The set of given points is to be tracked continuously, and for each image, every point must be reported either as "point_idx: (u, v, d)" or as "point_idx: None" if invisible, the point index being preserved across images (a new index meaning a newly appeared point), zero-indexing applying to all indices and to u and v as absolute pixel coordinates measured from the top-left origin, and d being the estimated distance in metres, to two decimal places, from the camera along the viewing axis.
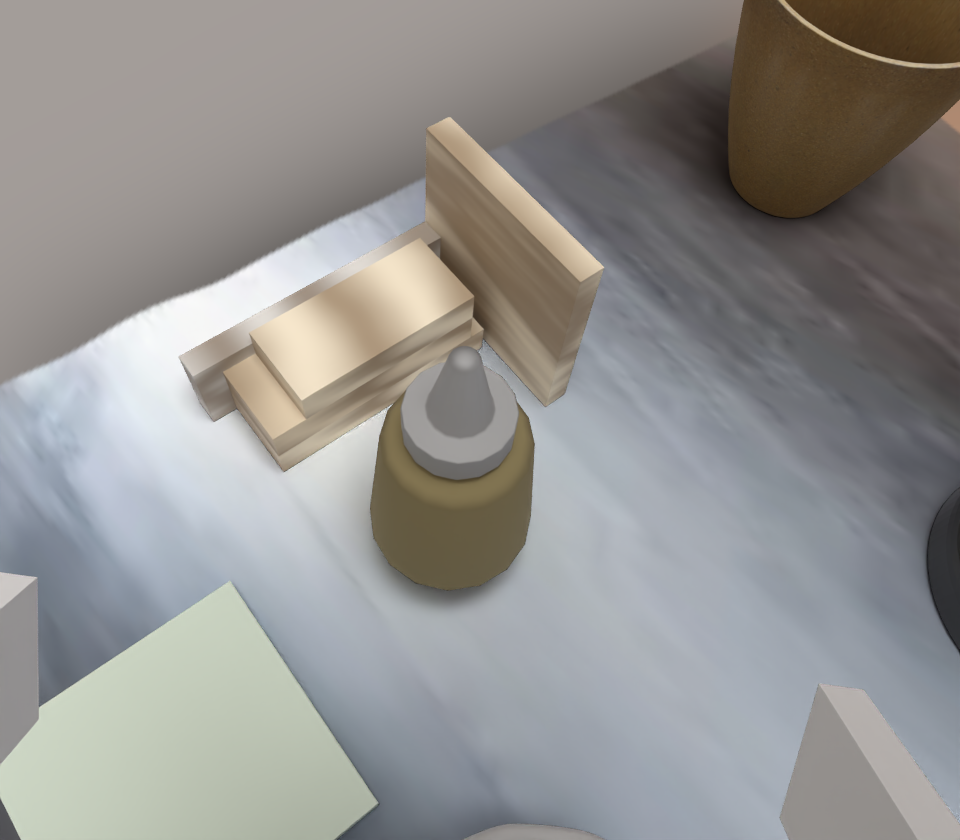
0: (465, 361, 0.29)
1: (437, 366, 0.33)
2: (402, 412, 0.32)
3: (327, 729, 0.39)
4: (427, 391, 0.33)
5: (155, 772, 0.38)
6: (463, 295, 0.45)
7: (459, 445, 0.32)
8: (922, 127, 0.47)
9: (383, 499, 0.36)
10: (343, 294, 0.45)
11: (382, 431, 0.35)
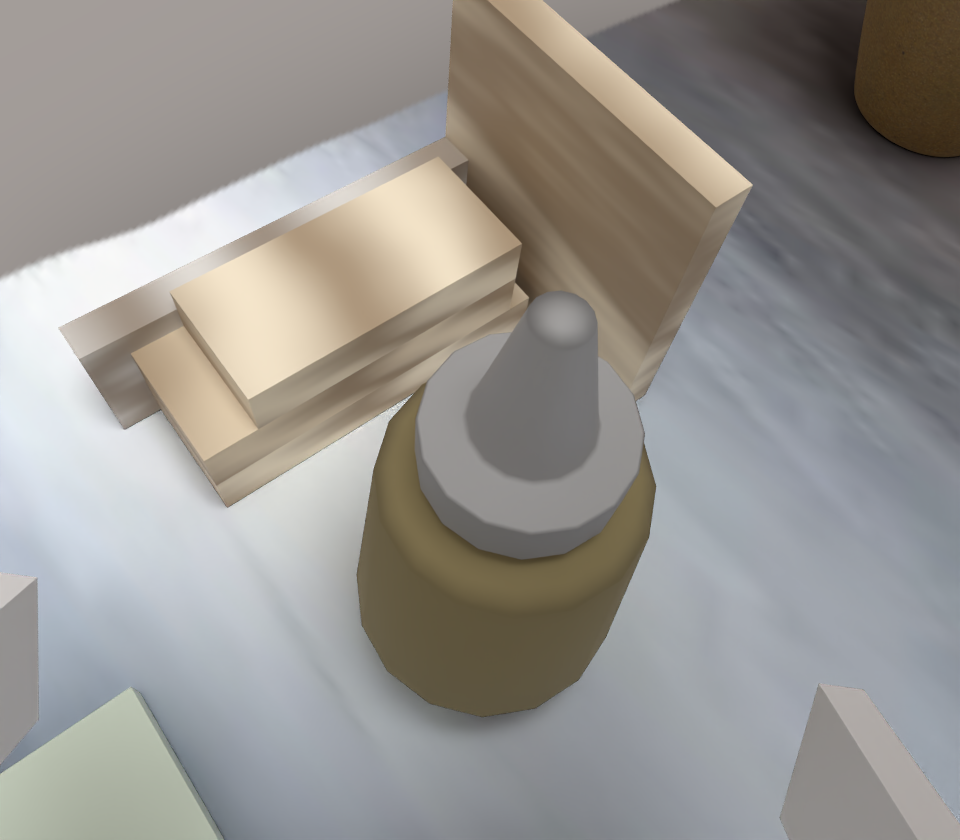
0: (563, 323, 0.13)
1: (485, 340, 0.17)
2: (419, 428, 0.16)
3: None
4: (467, 387, 0.17)
5: None
6: (505, 241, 0.29)
7: (533, 496, 0.16)
8: None
9: (379, 577, 0.21)
10: (320, 236, 0.29)
11: (378, 461, 0.19)
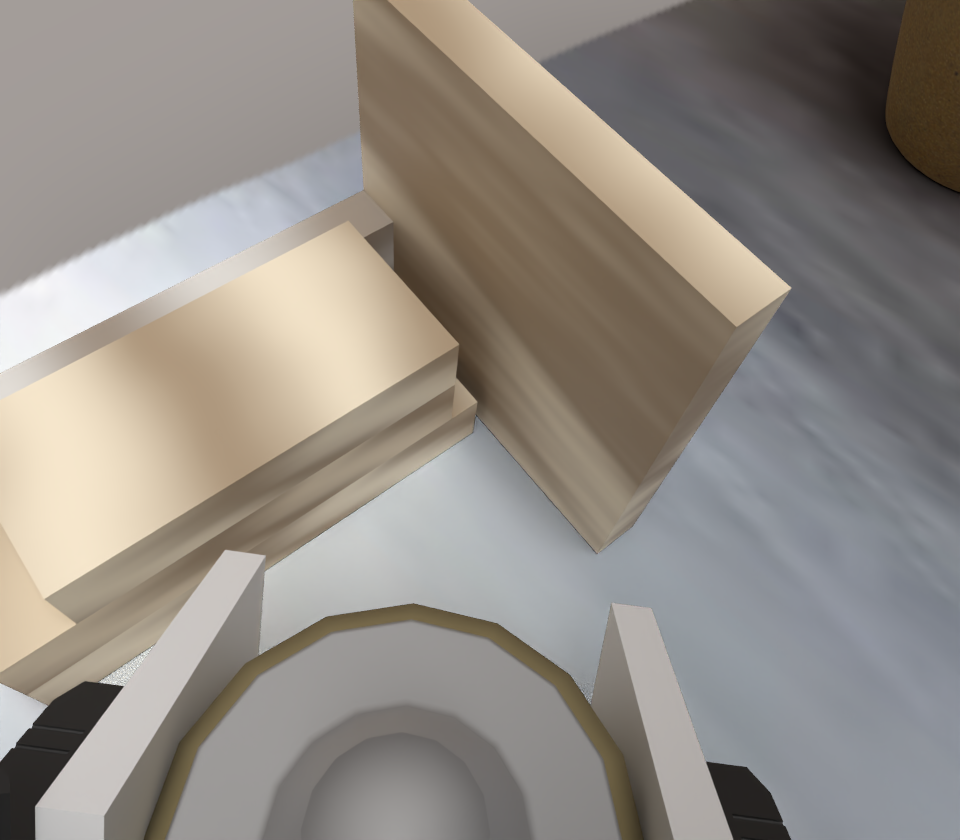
0: None
1: (321, 650, 0.09)
2: None
3: None
4: (273, 769, 0.08)
5: None
6: (435, 342, 0.21)
7: None
8: None
9: None
10: (175, 339, 0.21)
11: (151, 829, 0.10)
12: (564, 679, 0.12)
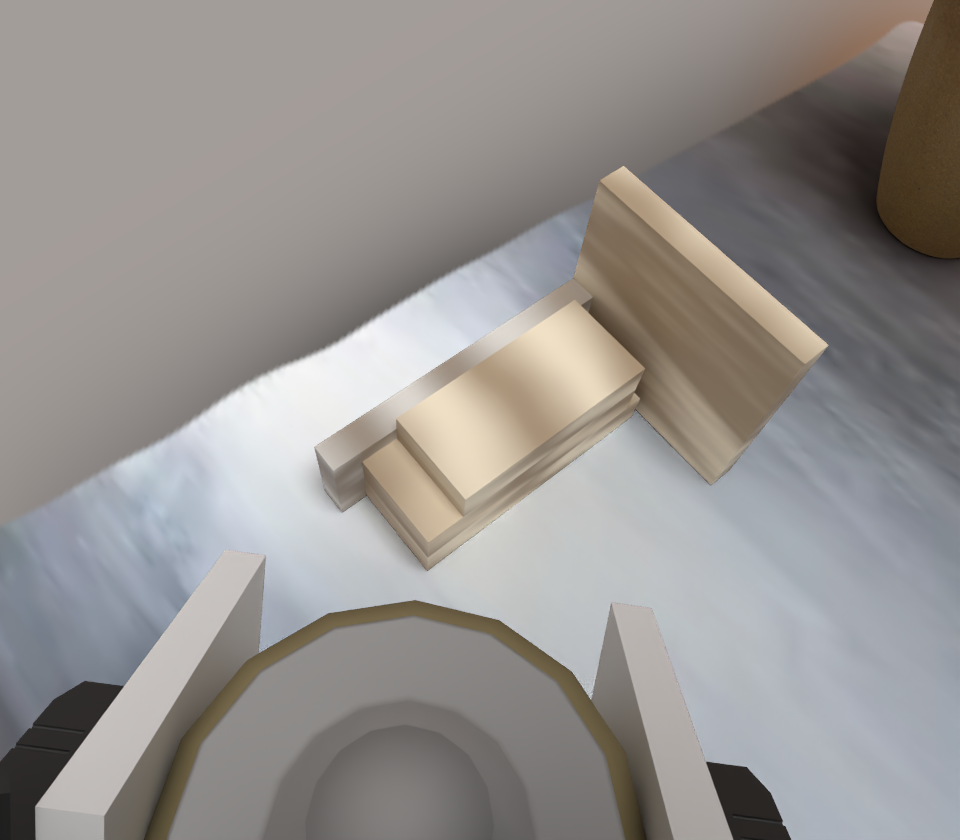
0: (403, 836, 0.05)
1: (323, 645, 0.09)
2: None
3: None
4: (276, 764, 0.08)
5: None
6: (632, 367, 0.40)
7: None
8: None
9: None
10: (497, 369, 0.39)
11: (152, 826, 0.10)
12: (566, 676, 0.12)
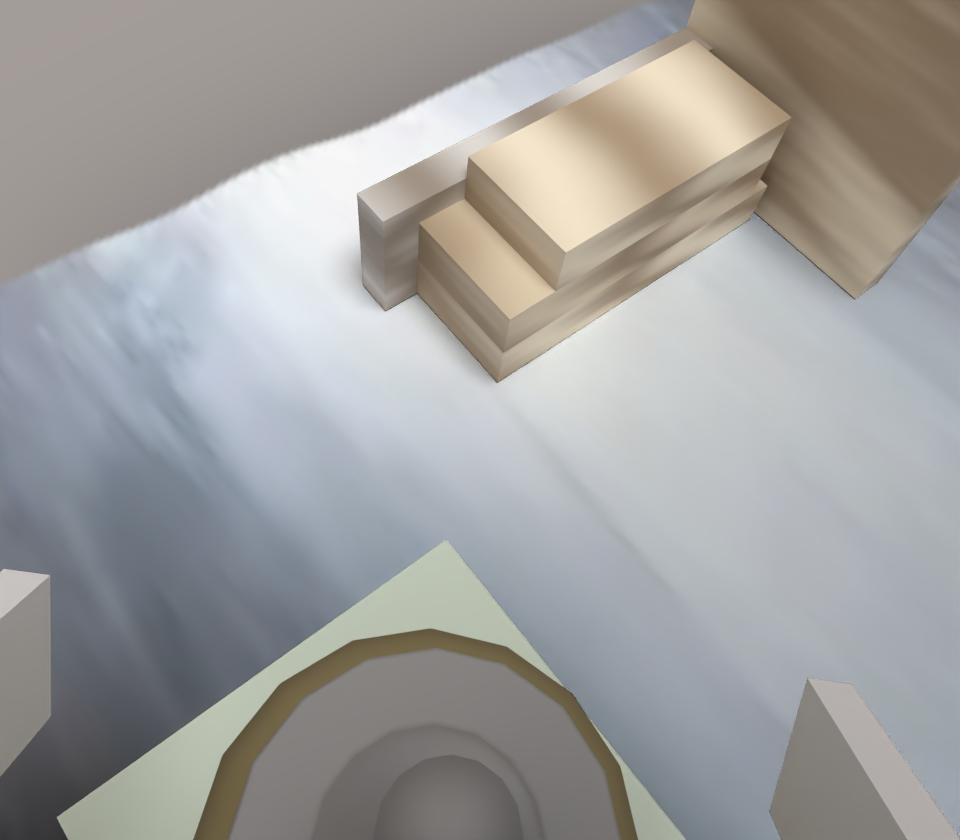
0: None
1: (358, 675, 0.10)
2: None
3: (635, 779, 0.24)
4: (319, 780, 0.10)
5: None
6: (775, 115, 0.30)
7: None
8: None
9: None
10: (600, 109, 0.29)
11: (198, 833, 0.12)
12: (567, 697, 0.13)
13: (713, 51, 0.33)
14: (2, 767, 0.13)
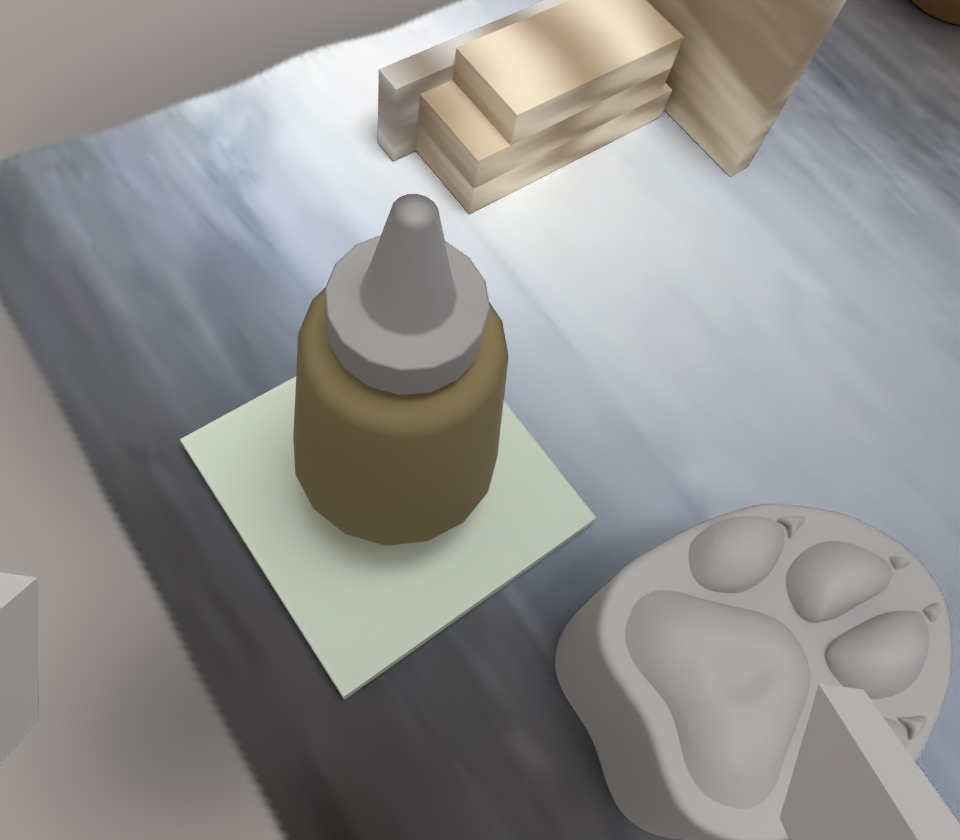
0: (415, 215, 0.20)
1: None
2: (327, 295, 0.23)
3: (539, 447, 0.38)
4: (363, 269, 0.23)
5: None
6: (672, 34, 0.43)
7: (403, 344, 0.23)
8: None
9: (303, 421, 0.27)
10: (550, 21, 0.42)
11: (302, 327, 0.25)
12: None
13: None
14: None
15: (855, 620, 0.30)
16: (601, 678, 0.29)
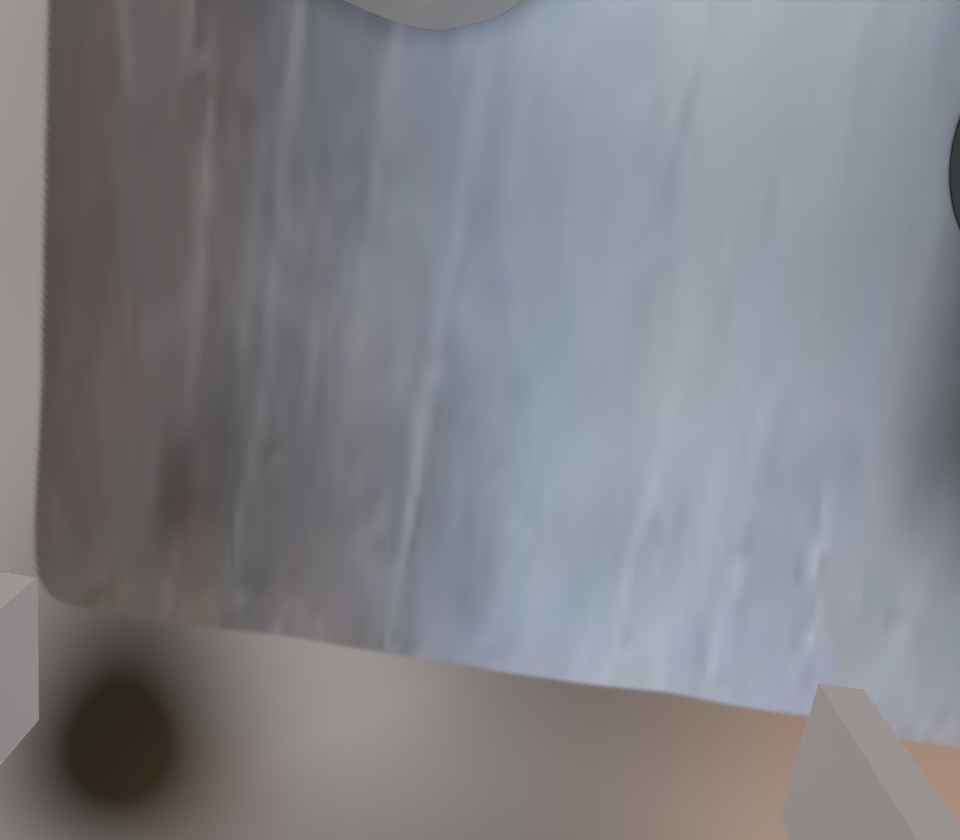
0: None
1: None
2: None
3: None
4: None
5: None
6: None
7: None
8: None
9: None
10: None
11: None
12: None
13: None
14: None
15: None
16: None
